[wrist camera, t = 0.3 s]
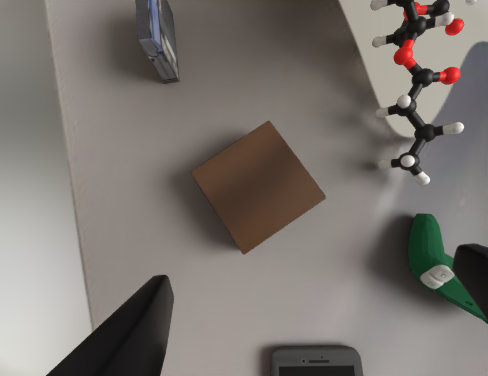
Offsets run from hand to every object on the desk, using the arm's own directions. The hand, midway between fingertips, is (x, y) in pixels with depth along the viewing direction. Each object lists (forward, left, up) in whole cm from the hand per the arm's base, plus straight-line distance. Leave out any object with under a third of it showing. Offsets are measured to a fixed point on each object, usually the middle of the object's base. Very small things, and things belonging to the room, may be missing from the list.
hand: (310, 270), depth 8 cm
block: (+5, -1, -15) cm, 16 cm away
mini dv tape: (+23, -2, -15) cm, 28 cm away
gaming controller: (-10, -11, -15) cm, 22 cm away
